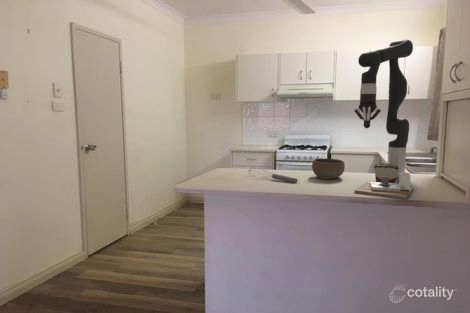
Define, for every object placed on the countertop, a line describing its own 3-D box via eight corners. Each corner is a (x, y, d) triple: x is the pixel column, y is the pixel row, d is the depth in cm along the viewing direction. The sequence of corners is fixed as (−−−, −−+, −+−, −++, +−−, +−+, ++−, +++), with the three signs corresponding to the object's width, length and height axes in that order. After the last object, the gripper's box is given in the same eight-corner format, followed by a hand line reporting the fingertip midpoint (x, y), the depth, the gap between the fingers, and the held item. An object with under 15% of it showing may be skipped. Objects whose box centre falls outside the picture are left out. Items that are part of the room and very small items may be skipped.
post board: (366, 184, 184) (366, 171, 184) (413, 189, 172) (414, 175, 172) (354, 192, 166) (355, 178, 165) (406, 199, 154) (407, 183, 153)
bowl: (347, 180, 195) (348, 162, 194) (315, 180, 195) (315, 162, 194) (339, 174, 212) (340, 158, 211) (309, 174, 212) (309, 158, 211)
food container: (399, 183, 187) (400, 164, 186) (398, 185, 182) (399, 166, 181) (374, 181, 193) (375, 162, 192) (372, 183, 188) (373, 164, 187)
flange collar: (371, 190, 165) (372, 173, 164) (370, 185, 177) (371, 169, 176) (411, 192, 160) (412, 175, 159) (407, 187, 172) (408, 171, 171)
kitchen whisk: (297, 185, 185) (297, 172, 185) (245, 177, 207) (245, 166, 206) (302, 183, 190) (303, 171, 189) (252, 176, 212) (252, 165, 211)
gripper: (383, 93, 178) (382, 128, 181) (356, 93, 186) (355, 127, 188) (380, 92, 172) (378, 128, 175) (352, 93, 180) (351, 128, 182)
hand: (366, 128), depth 181 cm, fingers closed
